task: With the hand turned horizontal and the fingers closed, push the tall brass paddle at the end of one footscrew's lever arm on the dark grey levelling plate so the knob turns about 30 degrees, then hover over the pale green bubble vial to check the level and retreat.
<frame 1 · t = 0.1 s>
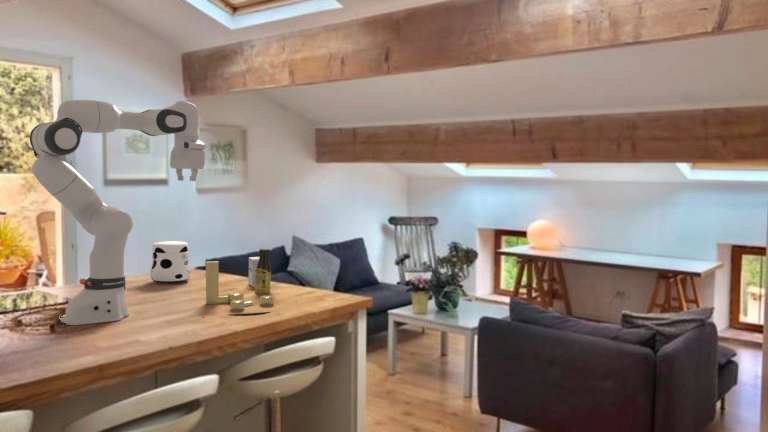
hand: (186, 180, 244), 48 cm above the kitchen island, tool pointing down, fingers open, 8 cm apart
levelling plate: (246, 309, 240), on the kitchen island
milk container: (170, 282, 292), on the kitchen island
lever knob: (225, 282, 243), point 10 cm above the kitchen island, hinge at 0.0°
supplement box: (258, 285, 289), on the kitchen island
sauce bottle: (262, 296, 265), on the kitchen island
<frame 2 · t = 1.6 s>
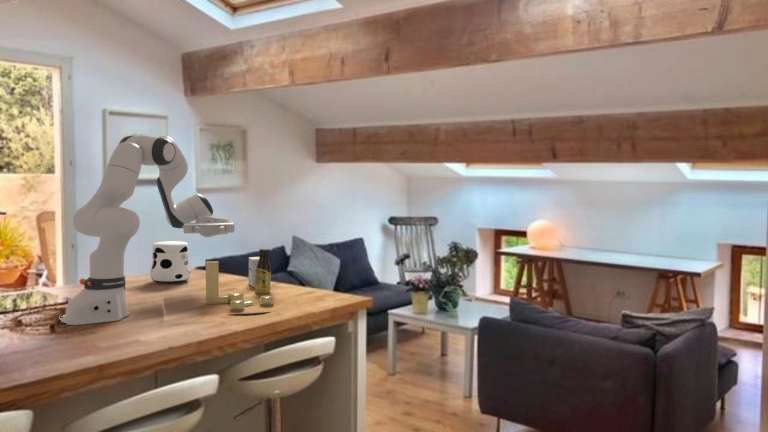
hand: (210, 229, 253), 28 cm above the kitchen island, tool horizontal, fingers open, 7 cm apart
nothing on the kitchen island moved.
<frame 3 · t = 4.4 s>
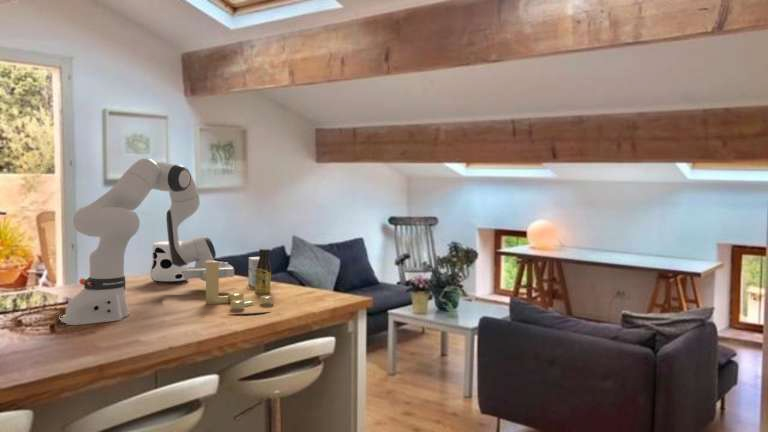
hand: (210, 275, 254), 10 cm above the kitchen island, tool horizontal, fingers closed
nothing on the kitchen island moved.
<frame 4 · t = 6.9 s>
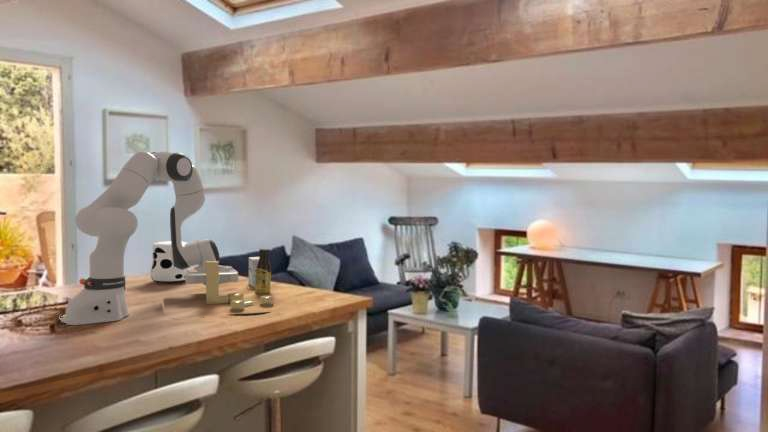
hand: (213, 280, 243), 10 cm above the kitchen island, tool horizontal, fingers closed, pressing on lever knob
lever knob: (225, 282, 243), point 9 cm above the kitchen island, hinge at 0.3°, touching gripper
everything else where it was.
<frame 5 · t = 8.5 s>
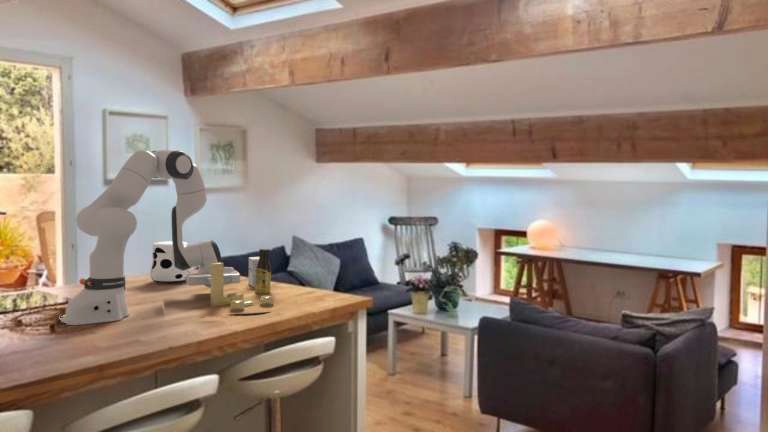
hand: (215, 282, 240), 10 cm above the kitchen island, tool horizontal, fingers closed
lever knob: (227, 282, 242), point 10 cm above the kitchen island, hinge at 31.5°
everything else where it was.
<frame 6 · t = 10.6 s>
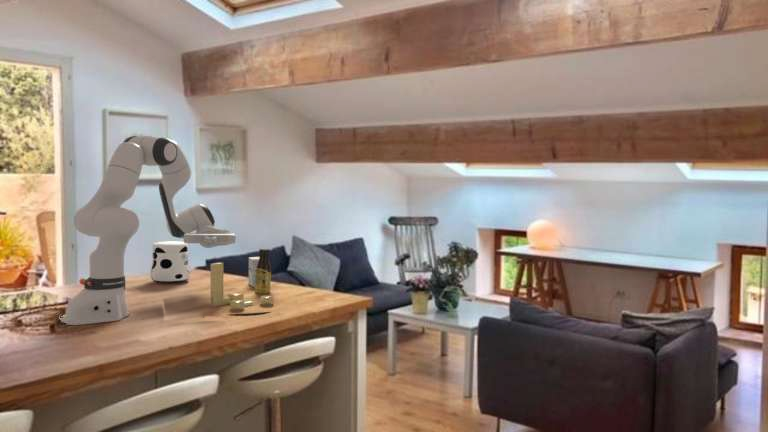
hand: (211, 240, 249), 25 cm above the kitchen island, tool horizontal, fingers closed
nothing on the kitchen island moved.
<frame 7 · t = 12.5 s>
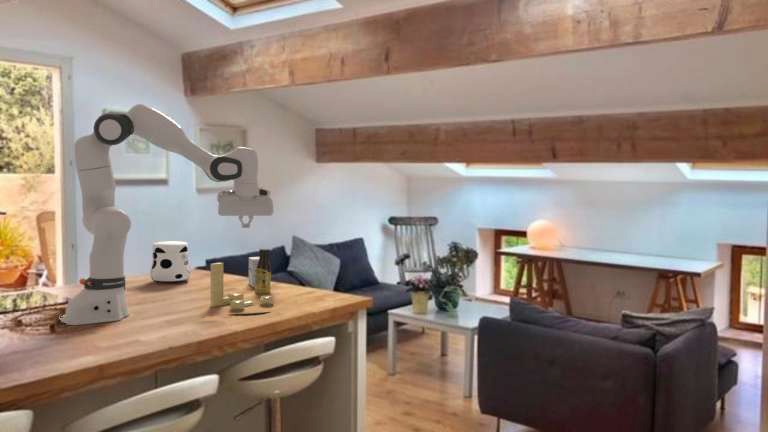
hand: (245, 227, 238), 31 cm above the kitchen island, tool pointing down, fingers closed
nothing on the kitchen island moved.
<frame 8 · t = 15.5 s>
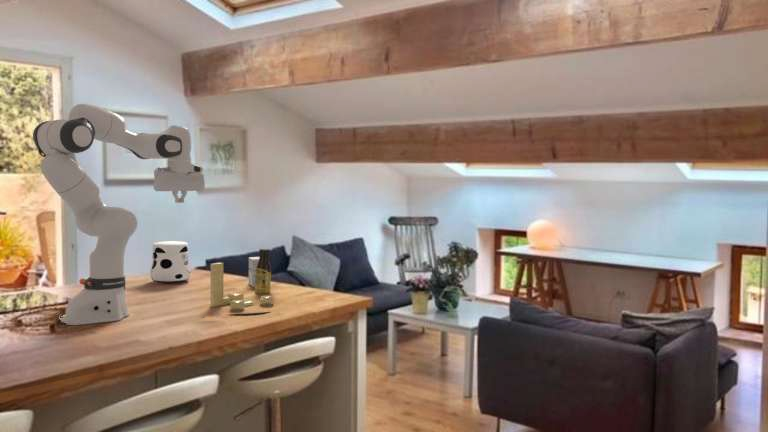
hand: (179, 202, 251), 39 cm above the kitchen island, tool pointing down, fingers closed
nothing on the kitchen island moved.
at the end: lever knob at +32° (first picture: +0°) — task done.
